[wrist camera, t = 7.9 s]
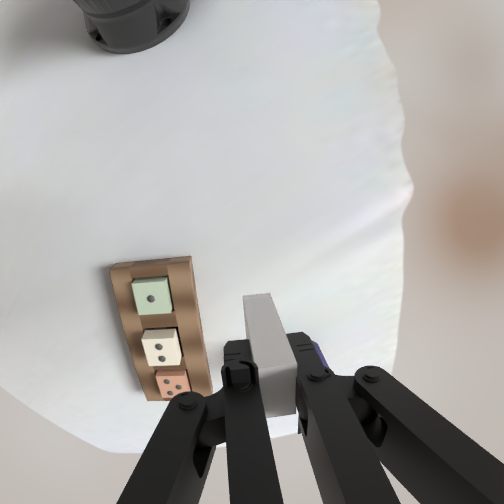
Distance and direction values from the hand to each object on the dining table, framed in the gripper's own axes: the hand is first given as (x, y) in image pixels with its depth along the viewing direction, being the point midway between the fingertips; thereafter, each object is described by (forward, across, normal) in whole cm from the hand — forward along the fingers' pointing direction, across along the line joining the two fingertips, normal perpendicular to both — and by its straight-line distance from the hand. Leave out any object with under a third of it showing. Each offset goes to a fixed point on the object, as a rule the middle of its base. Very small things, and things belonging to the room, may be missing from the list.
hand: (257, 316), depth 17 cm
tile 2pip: (+21, -12, -14) cm, 28 cm away
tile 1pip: (+23, -12, -7) cm, 27 cm away
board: (+24, -12, -14) cm, 31 cm away
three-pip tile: (+23, -12, -22) cm, 34 cm away
